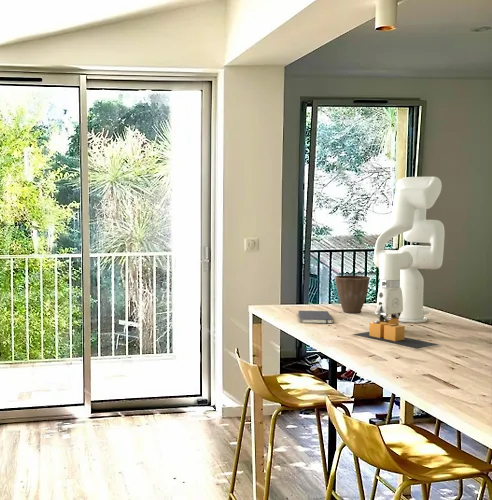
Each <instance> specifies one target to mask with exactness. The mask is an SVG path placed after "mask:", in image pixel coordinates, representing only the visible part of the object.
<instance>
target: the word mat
mask: <svg viewBox="0 0 492 500" xmlns="http://www.w3.org/2000/svg"><path fill="white" fill-rule="evenodd" d="M352 336H357V337H362V338H366V339H371V340H375V341H380V342H385V343H387V344H388V343H389V344H392V345H397V346H402V347H407V348H411V349H415V350H418V349H423V348H428V347H429V348H430V347H435V346H438V345H440V344H439V343H435V342H430V341H424V340H420V339H414V338H410V337H405V336H404V340H399V341H392V340H387V339H384V338H378V337H373V336H369V331H365V332H359V333H353V334H352Z"/></svg>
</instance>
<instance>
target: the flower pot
mask: <svg viewBox="0 0 492 500" xmlns="http://www.w3.org/2000/svg"><path fill="white" fill-rule="evenodd" d="M334 281H335V287H336V291H337V296H338V299H339V303H340V306H341V309H342V312H343V313H348V314H358V313H361V311H362V310H363V307H364V304H365V301H366V297H367V295H368V290H369V283H370V276H366V275H356V274H355V275H354V274H353V275H352V274H350V275H349V274H344V275H342V274H341V275H335V276H334Z"/></svg>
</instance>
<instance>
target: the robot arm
mask: <svg viewBox="0 0 492 500" xmlns="http://www.w3.org/2000/svg"><path fill="white" fill-rule="evenodd" d="M442 185H443V184H442V180H441V179H440V178H439V177H437V176H408V177H407V176H405V177H402V178H401V177H400V178H399V179H398V180H397V182H396V191H395V194H394V197H393V204H392V210H391V217H390V223H389V225H388V226H387V227H386V228H385V229H383V230H382V232H381V233H380V234H379V235H378V237H377V239H376V241H375V245H374V251H373V265H374V266H375V267H376V268H378V269H379V274H378V275H379V276H378V277H379V279H378V281H379V283H378V292H377V298H376V310H375V312H374V315H375V316H376V317H377V318H378V321H381V322H386V321H387V317H389V316H390V317H392V318H397V319H399V322H401V323H411V324H412V323H413V324H420V323H426V322H428V318H427V317H425V315H429V314H430V310H429V309H424V290H425V289H424V288H425V287H424V284H425V281H424V277H423V274H421V271H419V270H438V269H440V268H441V267H442V266H443V262H444V261H443V260H444V250H445V236H446V235H445V226H444V223H443V222H442V221H441V220H438V219H427V210H430V209H431V208H433V206H434V205H435V203H436V201H437V199H438V198H439V196H440V194H441V192H442V188H443V187H442ZM399 235H402V238H403V240H404V241H406V242H409V243H421V244H422V243H424V244H430V245H416V244H415V245H414V244H413V245H409V244H408V245H403V246H401V247H399V248H398V249H397V250H396V249H385V248H386V245H387V243H389V241H390V240H391V239H393V238H394V237H397V236H399ZM386 323H388V322H386Z"/></svg>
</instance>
